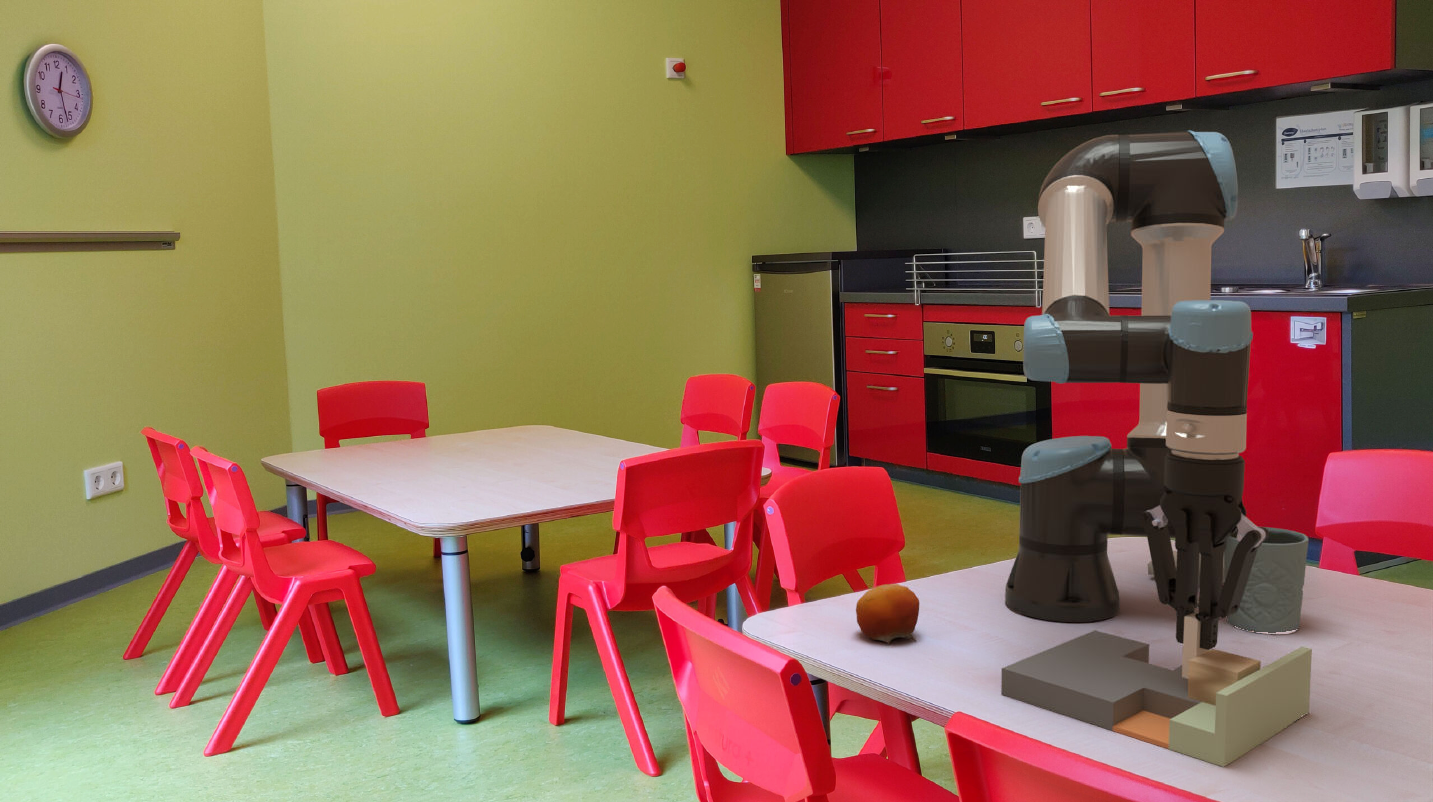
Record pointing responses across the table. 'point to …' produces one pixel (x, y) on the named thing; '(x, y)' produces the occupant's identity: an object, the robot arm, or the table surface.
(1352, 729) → the table surface
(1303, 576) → the embossed grey cup
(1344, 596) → the table surface
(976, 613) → the table surface
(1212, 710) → the box
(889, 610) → the fruit
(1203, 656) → the block
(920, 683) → the table surface
